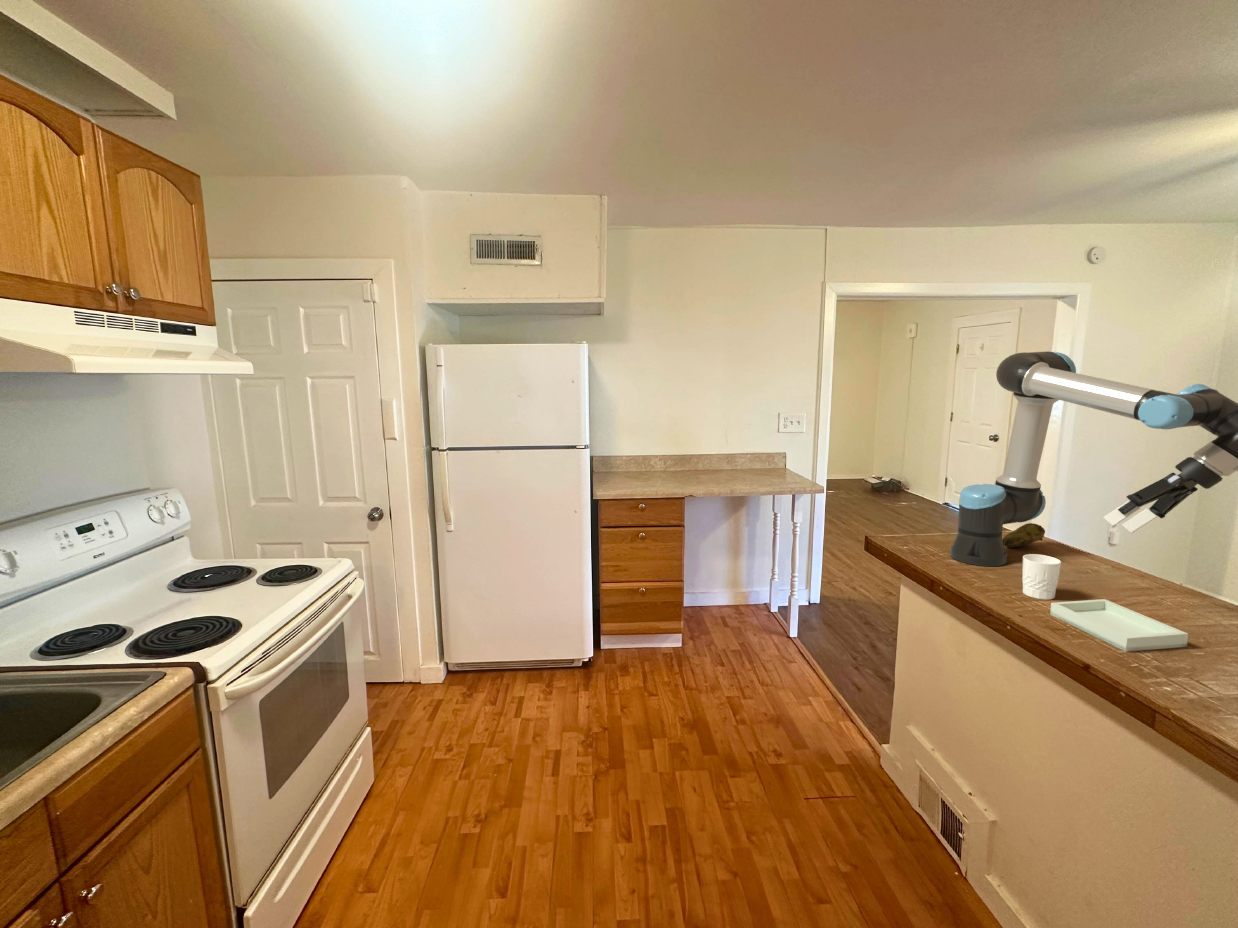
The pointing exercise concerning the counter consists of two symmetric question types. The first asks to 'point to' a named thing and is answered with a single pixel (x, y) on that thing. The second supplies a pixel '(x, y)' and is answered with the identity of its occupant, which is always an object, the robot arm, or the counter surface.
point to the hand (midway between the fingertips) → (1117, 525)
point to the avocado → (1024, 535)
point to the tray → (1119, 625)
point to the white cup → (1040, 576)
